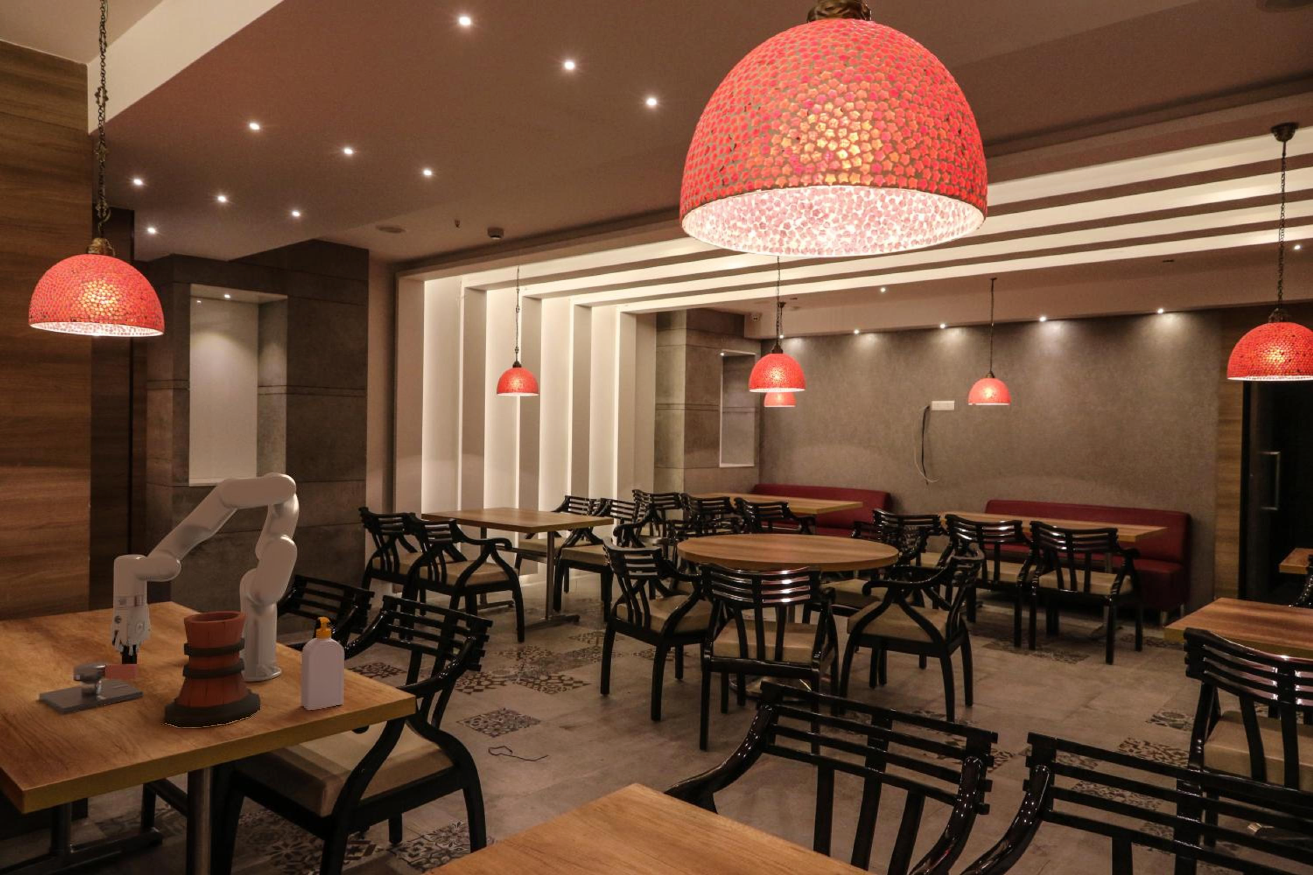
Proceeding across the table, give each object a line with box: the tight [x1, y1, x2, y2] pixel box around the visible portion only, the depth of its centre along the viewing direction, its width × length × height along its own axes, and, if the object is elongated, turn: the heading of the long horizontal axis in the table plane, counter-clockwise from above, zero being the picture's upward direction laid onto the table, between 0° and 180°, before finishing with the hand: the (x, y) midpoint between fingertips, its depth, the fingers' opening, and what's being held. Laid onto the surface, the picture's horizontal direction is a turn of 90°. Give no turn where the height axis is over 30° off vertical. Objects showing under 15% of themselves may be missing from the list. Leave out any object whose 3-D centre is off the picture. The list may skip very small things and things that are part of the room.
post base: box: [38, 678, 144, 715], centre depth 215 cm, size 18×18×5 cm
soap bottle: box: [300, 616, 345, 711], centre depth 213 cm, size 9×7×23 cm
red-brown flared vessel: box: [163, 610, 261, 727], centre depth 207 cm, size 22×25×25 cm
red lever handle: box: [72, 661, 140, 683], centre depth 215 cm, size 16×10×4 cm, turn 90°
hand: (129, 668), depth 218 cm, fingers closed
